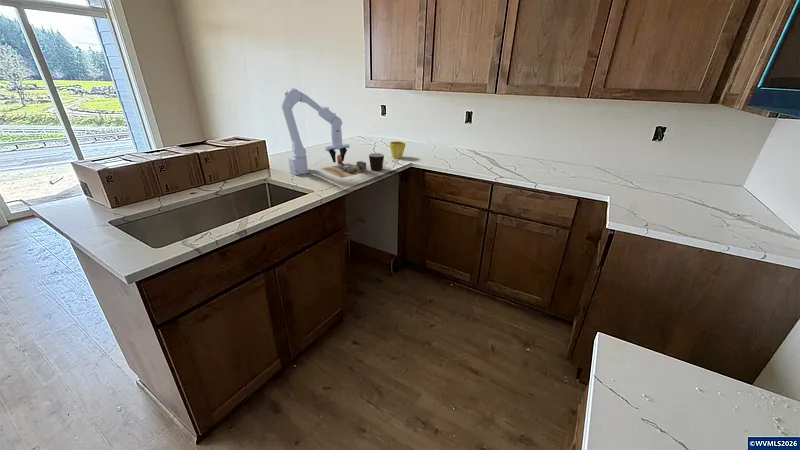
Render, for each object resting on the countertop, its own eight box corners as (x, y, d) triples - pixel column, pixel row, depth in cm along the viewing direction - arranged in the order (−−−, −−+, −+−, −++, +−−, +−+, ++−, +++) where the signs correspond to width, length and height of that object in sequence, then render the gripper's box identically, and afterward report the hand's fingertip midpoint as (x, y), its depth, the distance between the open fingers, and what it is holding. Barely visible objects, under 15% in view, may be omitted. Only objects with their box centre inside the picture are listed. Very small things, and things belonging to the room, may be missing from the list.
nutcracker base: (341, 180, 177) (340, 169, 175) (320, 171, 192) (319, 161, 189) (371, 173, 190) (370, 163, 187) (349, 165, 204) (348, 155, 202)
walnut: (355, 172, 186) (355, 166, 184) (351, 171, 188) (351, 164, 187) (360, 171, 188) (360, 165, 187) (357, 169, 191) (356, 163, 189)
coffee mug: (378, 175, 187) (378, 157, 183) (366, 172, 191) (365, 155, 187) (389, 170, 196) (389, 153, 192) (377, 168, 200) (377, 151, 196)
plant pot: (396, 154, 231) (396, 140, 227) (408, 157, 226) (408, 142, 221) (386, 157, 224) (386, 142, 220) (398, 160, 218) (398, 145, 214)
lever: (354, 172, 185) (354, 161, 183) (348, 173, 184) (347, 161, 181) (342, 164, 199) (341, 154, 197) (335, 165, 197) (335, 154, 195)
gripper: (344, 135, 197) (346, 158, 202) (321, 138, 189) (323, 161, 194) (350, 137, 191) (351, 160, 197) (327, 140, 184) (329, 164, 189)
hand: (338, 161), depth 196 cm, fingers open, 5 cm apart
